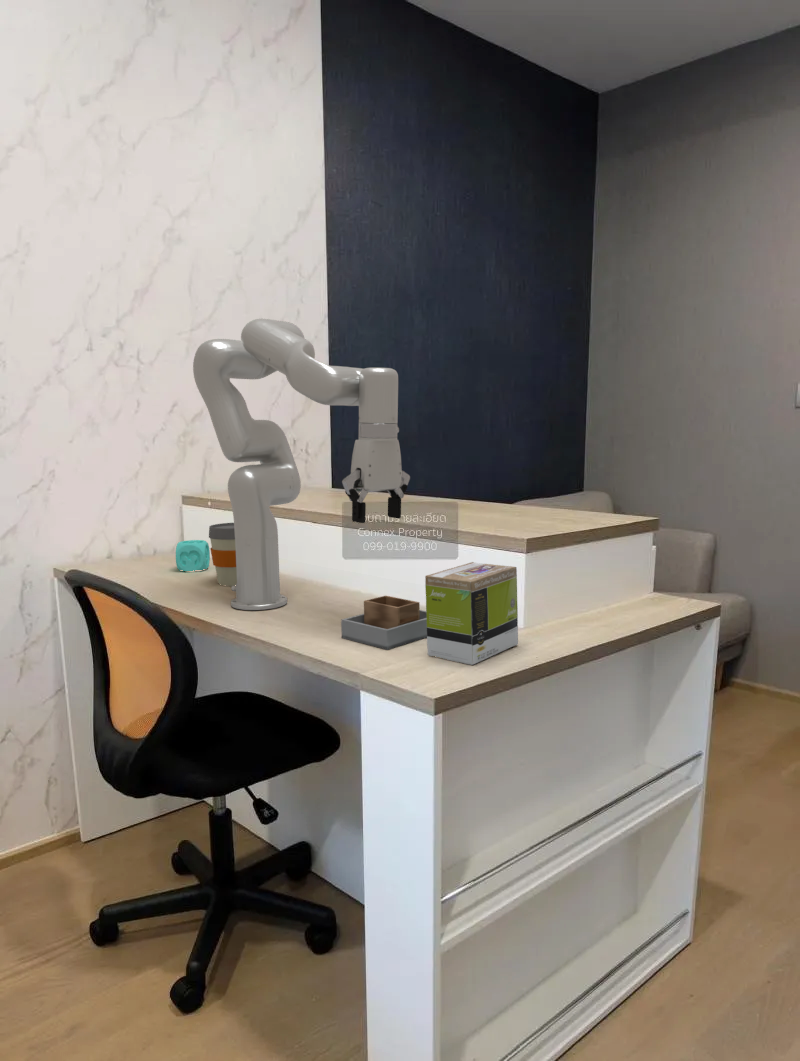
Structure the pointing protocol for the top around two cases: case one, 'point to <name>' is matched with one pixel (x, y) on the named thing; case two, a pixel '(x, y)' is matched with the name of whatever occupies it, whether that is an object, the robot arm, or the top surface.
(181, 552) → the decorative dice
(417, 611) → the small crate
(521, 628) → the top surface
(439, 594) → the tea box
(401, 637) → the grey tray
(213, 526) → the reusable coffee cup
